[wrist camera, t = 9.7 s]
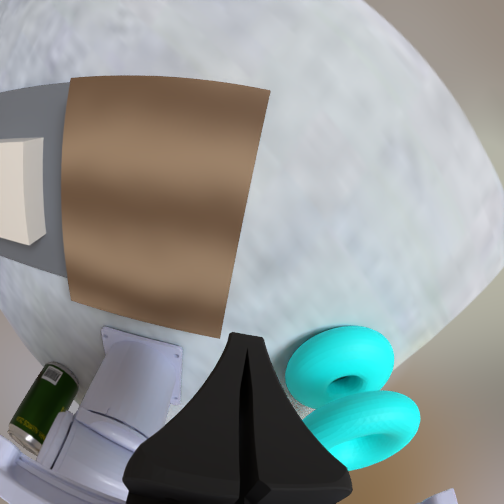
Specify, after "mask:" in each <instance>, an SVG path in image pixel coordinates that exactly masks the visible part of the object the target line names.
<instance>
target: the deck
mask: <svg viewBox="0 0 504 504" xmlns="http://www.w3.org/2000/svg"><path fill="white" fill-rule="evenodd" d="M269 95H270V90H265V89H260V88H255V87H249V86H244V85H238V84H231V83H224V82H217V81H209V80H200V79H190V78H179V77H163V76H93V77H78V78H71V80H70V86H69V92H68V98H67V105H66V113H65V122H64V132H63V144H62V163H61V210H62V229H63V242H64V253H65V262H66V270H67V277H68V284H69V290H70V296H71V300H72V301H75V302H78V303H81V304H84V305H87V306H90V307H94V308H97V309H100V310H104V311H107V312H110V313H114V314H117V315H121V316H125V317H128V318H132V319H136V320H139V321H143V322H147V323H151V324H155V325H159V326H163V327H168V328H172V329H176V330H181V331H185V332H190V333H194V334H199V335H204V336H209V337H214V338H219V339H220V335H221V330H222V324H223V319H224V314H225V308H226V303H227V298H228V293H229V288H230V283H231V277H232V272H233V267H234V262H235V257H236V252H237V247H238V242H239V237H240V232H241V227H242V222H243V217H244V212H245V208H246V203H247V198H248V193H249V188H250V183H251V179H252V174H253V169H254V164H255V160H256V155H257V150H258V146H259V141H260V136H261V132H262V127H263V123H264V118H265V114H266V109H267V104H268V100H269Z"/></svg>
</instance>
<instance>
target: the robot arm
mask: <svg viewBox="0 0 504 504" xmlns="http://www.w3.org/2000/svg"><path fill="white" fill-rule="evenodd" d="M101 334H102V340H103V346H104V351H105V358H104V360H103V362H102V364H101V365H100V367H99V369H98V371H97V373H96V375H95V377H94V379H93V381H92V382H91V384H90V386H89V388H88V390H87V392H86V394H85V396H84V398H83V400H82V402H81V404H80V406H79V408H78V411H77V412H76V413H75V414H74V415H73V414H72V413H71V412H69V411H66V412H60V413H58V415H57V417H56V419H55V421H54V422H53V424H52V426H51V428H50V430H49V432H48V434H47V436H46V438H45V441H44V443H43V445H42V447H41V449H40V451H39V454H38V456H37V458H36V461H35V460H33V459H32V458H30V457H28V456H26V455H25V454H23V453H22V452H21V451H20V450H19V449H18V447H17V446H15V445H14V444H13V443H12V442H11V441H9V440H8V439H6V438H5V437H4V436H2V435H1V434H0V497H1V498H2V499H4V500H5V501H6V502H8V503H9V504H336V503H337V502H339V501H341V500H342V499H344V498H346V497H347V496H349V495H350V494H351V492H352V490H353V489H352V482H351V478H350V475H349V472H348V469H347V467H346V466H345V465H343V464H342V463H341V462H340V461H339V460H338V459H336V458H335V457H334V456H333V455H332V454H331V453H330V452H329V451H328V450H327V449H326V448H325V447H324V446H323V445H322V444H321V443H320V442H319V441H318V439H317V438H316V437H315V436H314V435H313V433H312V432H311V431H310V430H309V429H308V427H307V426H306V425H305V424H304V422H303V421H302V419H301V418H300V417H299V415H298V414H297V412H296V411H295V409H294V408H293V406H292V404H291V403H290V401H289V399H288V397H287V396H286V394H285V392H284V390H283V388H282V386H281V384H280V382H279V380H278V378H277V375H276V373H275V371H274V368H273V366H272V363H271V361H270V358H269V355H268V352H267V349H266V346H265V342H264V339H263V338H262V337H258V336H252V335H246V334H240V333H235V332H232V333H230V334H229V337H228V341H227V344H226V347H225V349H224V351H223V353H222V355H221V357H220V359H219V361H218V362H217V364H216V366H215V368H214V369H213V371H212V372H211V374H210V375H209V377H208V378H207V380H206V381H205V383H204V384H203V385H202V387H201V388H200V389H199V391H198V392H197V393H196V394H195V395H194V397H193V398H192V399H191V400H190V401H189V402H188V403H187V405H186V406H185V407H184V408H183V409H182V410H181V411H180V412H179V413H178V414H177V415H176V416H175V417H174V418H173V419H171V420H170V421H169V422H168V423H167V424H166V425H165V421H166V417H167V414H168V410H169V406H170V404H173V405H179V404H180V395H181V374H182V357H183V349H182V348H181V347H180V346H177V345H172V344H168V343H164V342H160V341H156V340H152V339H148V338H144V337H140V336H137V335H133V334H130V333H126V332H122V331H119V330H116V329H112V328H109V327H105V326H104V327H103V328H102V329H101ZM176 354H178V355H176ZM164 425H165V426H164ZM417 504H458V503H457V499H456V495H455V492H454V489H453V488H451V489H448V490H446V491H443V492H440V493H438V494H435V495H433V496H431V497H429V498H427V499H425V500H424V501H423V502H421V503H417Z"/></svg>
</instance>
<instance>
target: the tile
mask: <svg viewBox="0 0 504 504" xmlns="http://www.w3.org/2000/svg"><path fill="white" fill-rule="evenodd" d="M43 139H44V137H40V138H12V139H0V237H1V238H4V239H8V240H11V241H15V242H18V243H22V244H26V245H31V244H32V243H33V242H35V241H36V240H38V239H39V238H41V237H42V236H43V235H45V234H46V228H45V216H44V201H43Z"/></svg>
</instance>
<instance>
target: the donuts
mask: <svg viewBox="0 0 504 504" xmlns="http://www.w3.org/2000/svg"><path fill="white" fill-rule="evenodd" d="M393 366H394V353H393V349H392V347H391V345H390V343H389V341H388V340H387V339H386V338H385V337H384V336H383V335H382V334H380V333H379V332H377V331H375V330H373V329H370V328H367V327H362V326H344V327H338V328H333V329H330V330H327V331H324V332H322V333H320V334H318V335H316V336H314V337H312V338H310V339H309V340H307V341H306V342H305V343H303V344H302V345H301V346H300V347H299V348H298V349H297V350H296V351H295V352H294V354H293V355H292V357H291V358H290V360H289V362H288V364H287V368H286V372H285V380H286V385H287V388H288V390H289V392H290V393H291V395H292V396H293V397H294V398H295V399H296V400H297V401H299V402H300V403H301V404H303V405H305V406H307V407H310V408H314V409H316V410H314V411H313V412H312V413H310V414H309V415H307V416H306V417H305V418H304V419H303V420H302V421H303V422H304V424H305V425H306V426H307V427H308V429H309V430H310V431H311V432H312V433H313V435H314V436H315V437H316V438H317V439H318V441H319V442H320V443H321V444H322V445H323V446H324V447H325V448H326V449H327V450H328V451H329V452H330V453H331V454H332V455H333V456H334V457H335V458H336V459H338V460H339V461H340V462H341V463H342V464H343V465H345V466H346V467H347V469H348V471H351V470H355V469H360V468H364V467H367V466H370V465H372V464H375V463H378V462H380V461H382V460H384V459H387V458H388V457H390V456H392V455H394V454H395V453H397V452H398V451H399V450H401V449H402V448H403V447H405V446H406V445H407V444H408V443H409V442H410V441H411V440H412V438H413V436H414V435H415V434H416V432H417V430H418V428H419V424H420V412H419V409H418V407H417V405H416V404H415V402H414V401H413V400H411V399H410V398H409V397H407V396H405V395H403V394H400V393H397V392H393V391H379V390H380V389H381V388H382V387H383V386H384V385H385V383H386V382H387V381H388V379H389V377H390V375H391V373H392V370H393ZM344 376H348V377H345V378H342V379H338V378H340V377H344ZM336 379H338V380H336Z"/></svg>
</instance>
